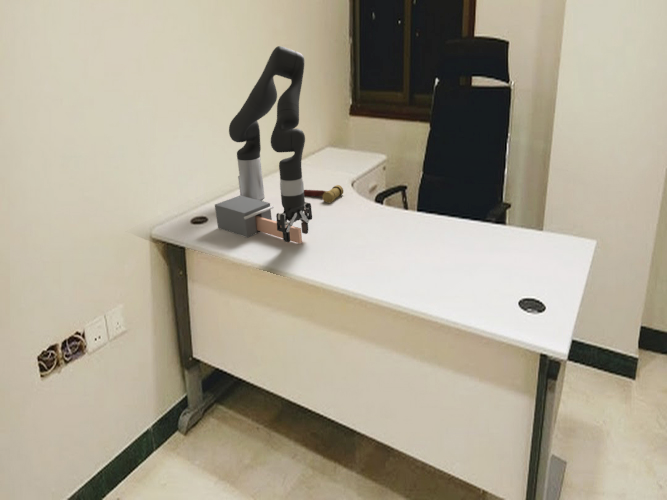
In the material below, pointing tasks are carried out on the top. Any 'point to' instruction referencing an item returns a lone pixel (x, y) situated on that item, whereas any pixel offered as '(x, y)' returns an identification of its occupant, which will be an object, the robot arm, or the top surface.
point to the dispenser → (241, 215)
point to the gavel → (326, 193)
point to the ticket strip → (271, 228)
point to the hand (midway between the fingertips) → (296, 237)
